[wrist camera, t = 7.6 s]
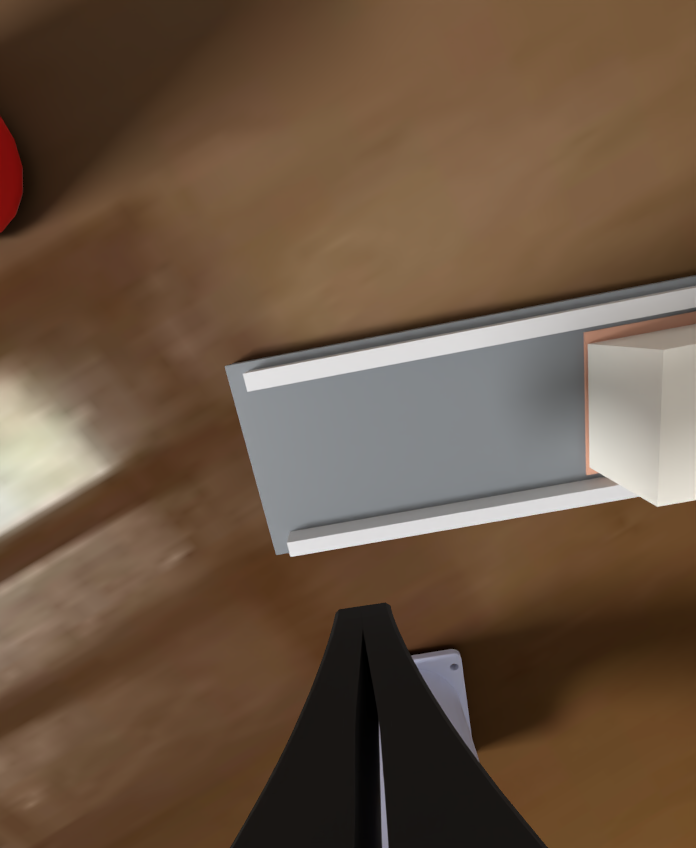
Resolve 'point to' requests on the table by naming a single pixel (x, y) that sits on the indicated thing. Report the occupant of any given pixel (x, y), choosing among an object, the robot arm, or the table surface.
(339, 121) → the table surface
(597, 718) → the table surface
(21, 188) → the beer can
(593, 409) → the slider block
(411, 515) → the rail base
